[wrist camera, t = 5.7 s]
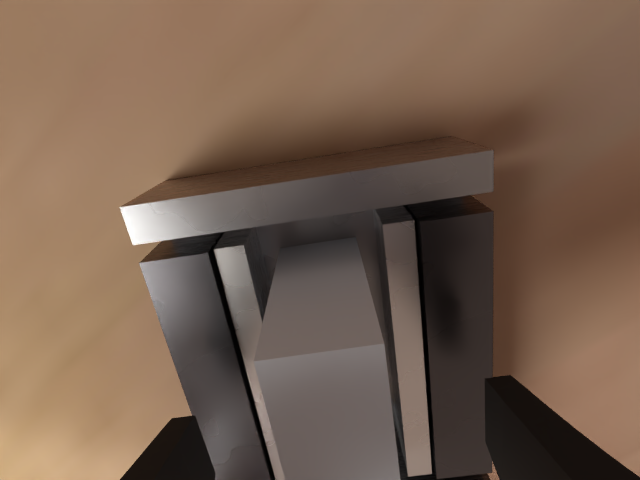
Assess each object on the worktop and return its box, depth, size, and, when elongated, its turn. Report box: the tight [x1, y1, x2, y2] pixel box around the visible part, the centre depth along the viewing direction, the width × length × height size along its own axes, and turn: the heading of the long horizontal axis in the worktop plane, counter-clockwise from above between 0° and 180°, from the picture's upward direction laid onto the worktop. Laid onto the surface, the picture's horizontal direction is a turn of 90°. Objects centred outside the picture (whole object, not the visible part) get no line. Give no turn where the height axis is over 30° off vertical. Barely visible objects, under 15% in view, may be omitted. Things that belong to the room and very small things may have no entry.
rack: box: [120, 136, 494, 480], centre depth 13 cm, size 9×12×3 cm
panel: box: [254, 237, 400, 480], centre depth 11 cm, size 2×7×6 cm, turn 9°
